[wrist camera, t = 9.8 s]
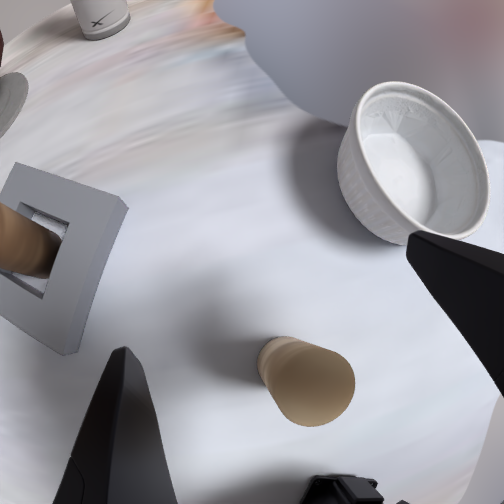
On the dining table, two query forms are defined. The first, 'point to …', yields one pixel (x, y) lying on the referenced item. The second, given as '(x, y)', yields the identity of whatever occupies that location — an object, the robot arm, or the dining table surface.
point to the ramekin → (412, 166)
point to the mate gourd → (11, 95)
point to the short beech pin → (306, 380)
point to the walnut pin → (26, 245)
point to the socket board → (60, 255)
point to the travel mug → (101, 17)
